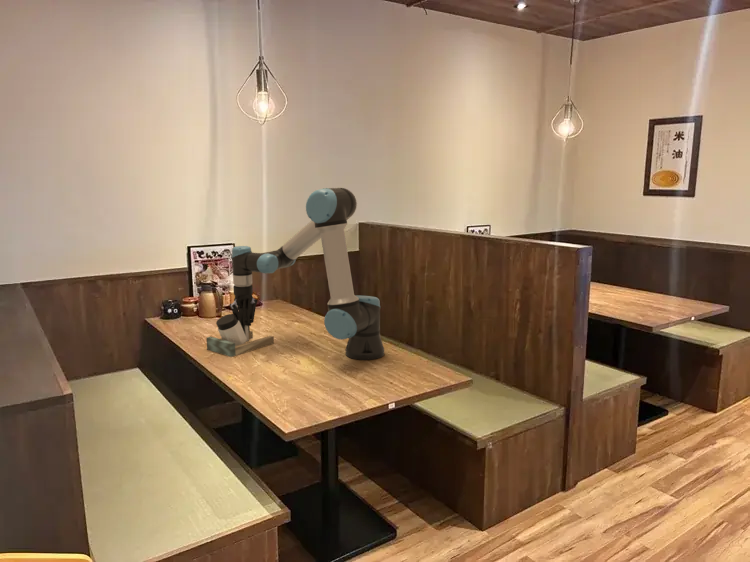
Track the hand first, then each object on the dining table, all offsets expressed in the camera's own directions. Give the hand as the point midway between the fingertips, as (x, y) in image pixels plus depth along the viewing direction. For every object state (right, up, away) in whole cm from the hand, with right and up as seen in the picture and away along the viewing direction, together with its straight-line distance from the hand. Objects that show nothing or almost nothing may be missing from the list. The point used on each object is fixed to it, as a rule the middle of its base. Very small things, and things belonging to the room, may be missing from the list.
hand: (245, 341), depth 236 cm
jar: (-3, -1, -4) cm, 5 cm away
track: (-1, -2, -1) cm, 2 cm away
